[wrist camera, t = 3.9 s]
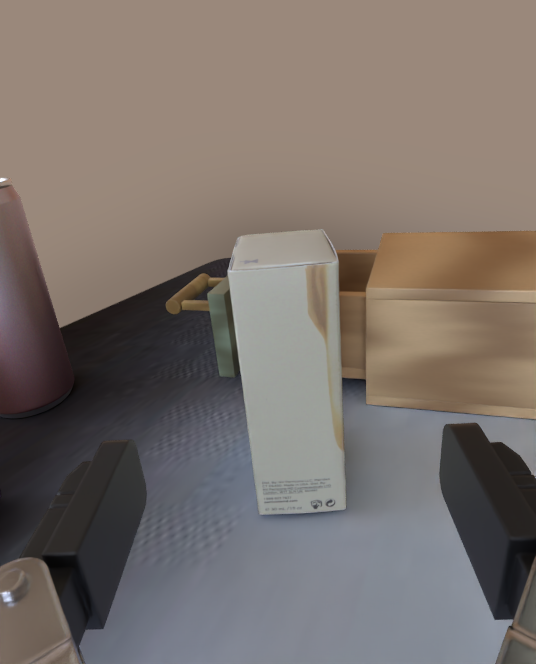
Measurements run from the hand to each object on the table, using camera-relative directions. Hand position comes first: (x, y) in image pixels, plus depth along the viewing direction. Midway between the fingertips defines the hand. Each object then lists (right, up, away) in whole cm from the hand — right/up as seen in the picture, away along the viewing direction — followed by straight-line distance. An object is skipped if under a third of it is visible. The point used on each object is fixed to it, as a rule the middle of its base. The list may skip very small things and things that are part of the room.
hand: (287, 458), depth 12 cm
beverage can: (-18, -2, +22) cm, 28 cm away
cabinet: (+14, +1, +21) cm, 25 cm away
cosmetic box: (+1, -4, +13) cm, 14 cm away
